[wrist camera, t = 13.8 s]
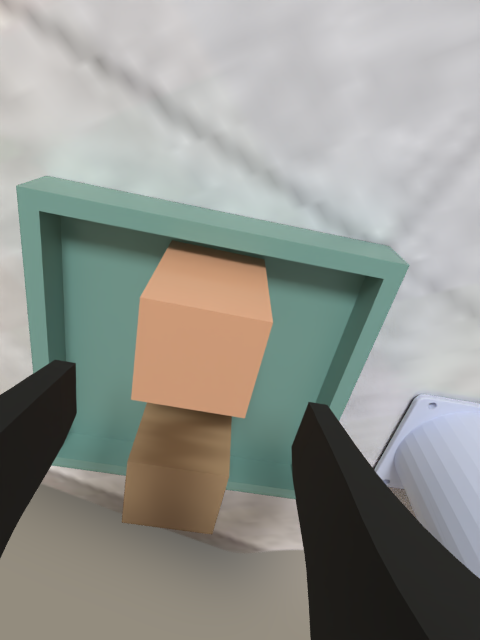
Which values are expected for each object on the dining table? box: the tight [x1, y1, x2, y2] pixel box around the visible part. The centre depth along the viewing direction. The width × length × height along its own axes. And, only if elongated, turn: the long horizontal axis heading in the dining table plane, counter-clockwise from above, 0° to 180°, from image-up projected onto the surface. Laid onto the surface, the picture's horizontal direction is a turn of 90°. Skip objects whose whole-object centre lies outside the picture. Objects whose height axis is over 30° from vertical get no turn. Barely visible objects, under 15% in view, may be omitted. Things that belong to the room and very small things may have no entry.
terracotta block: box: [131, 240, 273, 418], centre depth 16 cm, size 4×4×6 cm
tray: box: [16, 176, 409, 499], centre depth 20 cm, size 16×16×2 cm
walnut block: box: [122, 402, 232, 534], centre depth 20 cm, size 4×4×6 cm
